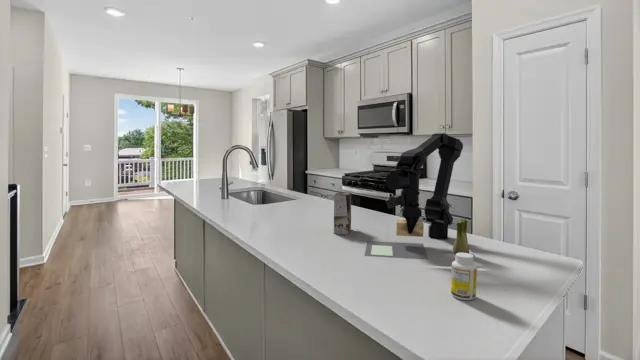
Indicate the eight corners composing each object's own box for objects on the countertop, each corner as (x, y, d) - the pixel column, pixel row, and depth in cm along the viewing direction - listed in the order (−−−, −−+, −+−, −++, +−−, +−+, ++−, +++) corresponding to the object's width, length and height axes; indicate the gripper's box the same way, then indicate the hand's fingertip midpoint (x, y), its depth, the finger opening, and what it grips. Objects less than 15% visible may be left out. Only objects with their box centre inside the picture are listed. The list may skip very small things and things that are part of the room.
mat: (422, 245, 128) (422, 243, 127) (428, 261, 110) (428, 258, 110) (367, 242, 131) (367, 240, 131) (364, 257, 114) (364, 255, 113)
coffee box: (349, 234, 143) (349, 195, 141) (333, 233, 144) (333, 194, 142) (351, 229, 152) (351, 192, 150) (336, 228, 153) (336, 191, 151)
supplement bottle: (466, 290, 88) (468, 250, 87) (480, 300, 82) (482, 257, 81) (446, 292, 87) (447, 252, 86) (458, 302, 81) (460, 259, 80)
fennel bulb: (457, 258, 113) (459, 221, 111) (448, 254, 117) (449, 218, 116) (473, 257, 114) (474, 220, 113) (463, 252, 119) (464, 217, 118)
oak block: (421, 232, 127) (422, 220, 126) (423, 236, 121) (423, 224, 121) (396, 231, 128) (396, 219, 128) (396, 235, 123) (396, 222, 123)
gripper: (387, 184, 134) (386, 224, 135) (387, 190, 116) (386, 237, 117) (417, 185, 132) (416, 226, 133) (422, 191, 114) (420, 238, 115)
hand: (409, 231), depth 125 cm, fingers closed on oak block, 5 cm apart
